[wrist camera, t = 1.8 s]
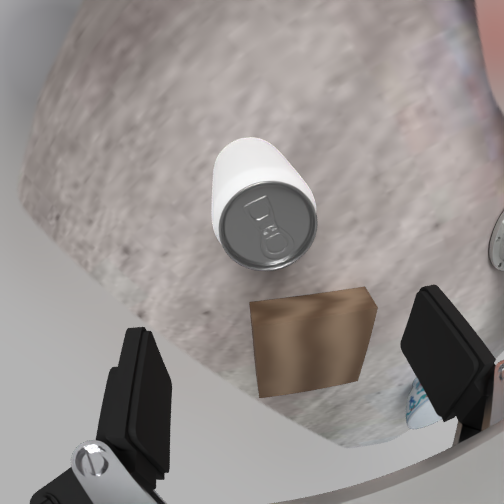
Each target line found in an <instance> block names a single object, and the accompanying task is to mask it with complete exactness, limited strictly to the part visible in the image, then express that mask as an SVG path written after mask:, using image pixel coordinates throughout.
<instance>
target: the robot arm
mask: <svg viewBox="0 0 504 504" xmlns="http://www.w3.org/2000/svg"><path fill="white" fill-rule="evenodd" d="M489 256H490V260H491V263H492V264H493V266H494V267H495V268H496V269H498V270H500V271H504V211H503V213H502V214H501V216H500V217H499V219H498V221H497V223H496V226H495V228H494V230H493V234H492V237H491V241H490V248H489ZM401 350H402V352H403V354H404V355H405V357H406V359H407V360H408V362H409V364H410V366H411V368H412V369H413V371H414V373H415V375H416V376H417V378H418V380H419V382H420V384H421V386H422V387H423V389H424V391H425V393H426V395H427V397H428V398H429V400H430V402H431V404H432V406H433V408H434V410H435V412H436V414H437V415H438V416H440V417H442V419H443V421H444V422H445V421H447V420H450V419H452V418H454V417H455V416H457V419H458V424H457V430H456V433H455V438H454V442H453V446H452V447H451V448H449V449H447V450H445V451H443V452H441V453H439V454H437V455H434V456H432V457H430V458H428V459H425V460H423V461H421V462H418V463H416V464H414V465H411V466H408V467H406V468H403V469H401V470H398V471H396V472H393V473H390V474H387V475H385V476H382V477H379V478H376V479H373V480H370V481H367V482H364V483H361V484H357V485H354V486H351V487H347V488H343V489H339V490H336V491H332V492H327V493H323V494H319V495H315V496H310V497H305V498H300V499H295V500H290V501H284V502H278V503H272V504H504V360H502V361H500V362H498V364H497V365H495V364H494V362H495V360H496V359H495V358H494V356H493V355H492V354H491V352H490V351H489V349H488V348H487V347H486V345H485V344H484V343H483V341H482V340H481V339H480V337H479V336H478V335H477V334H476V332H475V331H474V330H473V328H472V327H471V326H470V325H469V323H468V322H467V321H466V320H465V318H464V317H463V316H462V315H461V313H460V312H459V311H458V310H457V308H456V307H455V306H454V305H453V304H452V302H451V301H450V300H449V299H448V298H447V297H446V295H445V294H444V293H443V292H442V291H441V290H440V288H439V287H438V286H437V285H430V286H425V287H422V288H421V289H420V290H419V292H418V293H417V294H416V297H415V301H414V304H413V307H412V310H411V313H410V317H409V320H408V323H407V326H406V328H405V331H404V334H403V337H402V340H401ZM171 397H172V383H171V379H170V376H169V374H168V372H167V369H166V367H165V364H164V362H163V360H162V357H161V355H160V352H159V350H158V347H157V345H156V342H155V339H154V337H153V334H152V332H151V331H146V329H145V327H137V328H128V329H127V331H126V334H125V338H124V343H123V347H122V351H121V355H120V360H119V364H118V367H112V368H111V369H110V372H109V375H108V380H107V384H106V389H105V393H104V398H103V403H102V408H101V413H100V419H99V424H98V430H97V436H96V440H91V441H86V442H83V443H81V444H80V445H79V446H78V447H76V449H75V450H74V452H73V453H72V457H71V468H69V469H68V470H67V471H65V472H64V473H62V474H61V475H60V476H58V477H57V478H56V479H54V480H53V481H52V482H50V483H48V484H47V485H46V486H44V487H43V488H41V489H40V490H38V491H37V492H36V493H35V494H34V495H33V496H32V498H31V500H30V504H167V503H166V502H165V501H164V500H163V499H162V498H161V497H160V496H159V495H158V493H156V491H155V490H154V489H155V488H156V479H158V480H164V473H168V472H169V467H170V466H169V465H170V464H169V463H170V420H171V419H170V418H171Z"/></svg>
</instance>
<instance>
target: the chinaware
mask: <svg viewBox="0 0 504 504" xmlns="http://www.w3.org/2000/svg"><path fill="white" fill-rule="evenodd" d="M441 419H442V417H440V416H438V415H437V414H436V412H435V410H434V408H433V406H432V404H431V402H430V400H429V398H428V397H427V395H426V393H425V391H424V389H423V387H422V386H421V384H420V382H419V380H418V378H416V379H415V380H414V382H413V388H412V390H411V392H410V394H409V397H408V399H407V403H406V422H407V426H408V427H409V428H410V429H419V428H423V427H426V426H429V425H431V424H434V423H436V422H438V421H439V420H441Z"/></svg>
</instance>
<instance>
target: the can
mask: <svg viewBox="0 0 504 504" xmlns="http://www.w3.org/2000/svg"><path fill="white" fill-rule="evenodd" d="M212 225H213V229H214V232H215V235H216V237H217V239H218V241H219V242H220V243H221V245H222V246H223V248H224V250H225V252H226V253H227V254H228V255H229V257H230V258H231V259H233V260H234V261H235V262H236V263H238V264H240V265H241V266H243V267H246V268H248V269H252V270H257V271H272V270H278V269H281V268H284V267H287V266H289V265H291V264H293V263H294V262H296V261H297V260H298V259H300V258H301V257H302V256H303V255H304V254H305V253H306V252H307V251H308V249H309V248H310V246H311V245H312V243H313V241H314V238H315V235H316V231H317V215H316V203H315V200H314V197H313V194H312V192H311V190H310V188H309V187H308V185H307V184H306V182H305V181H304V180H303V179H302V177H301V176H300V175H299V174H298V172H297V171H296V170H295V169H294V168H293V166H292V165H291V164H290V163H289V162H288V161H287V159H286V158H285V157H284V156H283V155H282V154H281V153H280V152H279V151H278V149H277V148H276V147H274V146H273V145H272V144H271V143H269V142H267V141H265V140H263V139H259V138H254V137H247V138H241V139H238V140H235V141H233V142H231V143H230V144H228V145H227V146H226V147H224V148H223V150H222V151H221V152H220V153H219V155H218V157H217V159H216V161H215V164H214V170H213V184H212Z"/></svg>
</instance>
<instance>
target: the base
mask: <svg viewBox="0 0 504 504" xmlns="http://www.w3.org/2000/svg"><path fill="white" fill-rule="evenodd" d="M377 309H378V307H377V305H376V304H375V302H374V301H373V299H372V297H371V296H370V294H369V292H368V291H367V289H366V288H365V287H359V288H353V289H346V290H339V291H332V292H326V293H318V294H311V295H304V296H296V297H288V298H280V299H272V300H264V301H255V302H250V313H251V324H252V335H253V346H254V357H255V367H256V377H257V384H258V391H259V398H265V397H272V396H279V395H286V394H293V393H299V392H305V391H311V390H316V389H321V388H327V387H332V386H337V385H341V384H346V383H351V382H355V381H358V378H359V375H360V372H361V369H362V365H363V362H364V358H365V355H366V351H367V348H368V344H369V341H370V337H371V333H372V329H373V325H374V321H375V317H376V313H377Z"/></svg>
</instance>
